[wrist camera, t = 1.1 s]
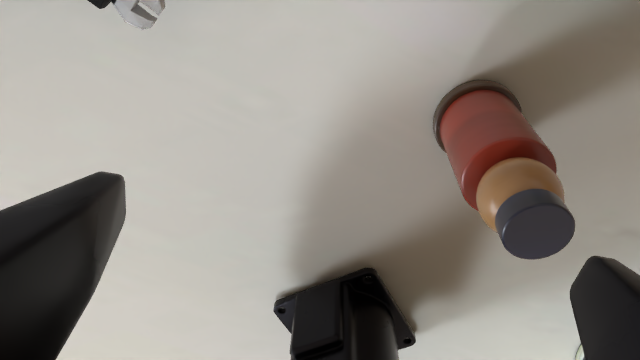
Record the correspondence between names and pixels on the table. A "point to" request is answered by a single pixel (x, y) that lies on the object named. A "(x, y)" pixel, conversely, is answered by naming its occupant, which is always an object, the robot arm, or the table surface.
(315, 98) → the table surface
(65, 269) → the robot arm
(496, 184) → the figure
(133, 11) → the robot toy
